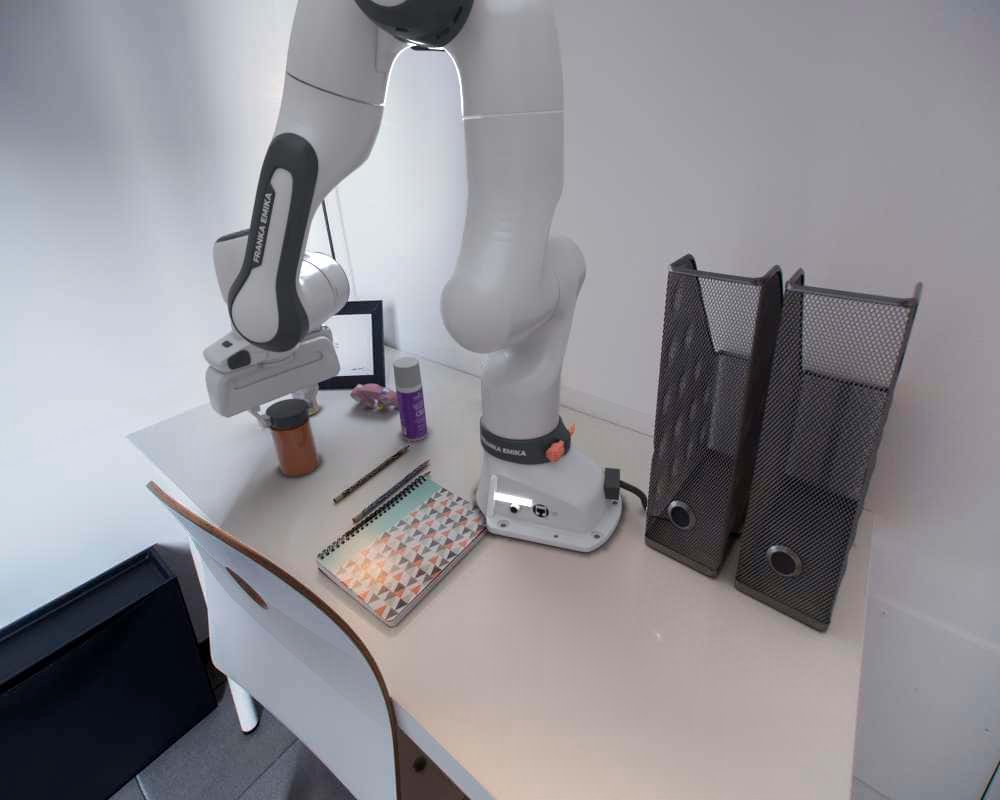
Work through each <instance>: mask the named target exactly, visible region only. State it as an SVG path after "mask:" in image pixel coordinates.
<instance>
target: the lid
mask: <svg viewBox="0 0 1000 800" xmlns="http://www.w3.org/2000/svg"><path fill="white" fill-rule="evenodd" d="M265 414H267V416H269V417H270V418H271V423H272V426H271V427H274V428H290V427H294V426H296V425H299V424H301V423H303V422H304V421H305V420H307V419H308V417H309V418H310V416H309V410H308V406H307V403H306V402H305V401H303V400H301V399H293V398H286V399H283V400H278V401H277V402H274V403H272V404H271V405H269V406H268V407H267V408H266V410H265Z"/></svg>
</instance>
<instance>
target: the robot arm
mask: <svg viewBox="0 0 1000 800" xmlns="http://www.w3.org/2000/svg"><path fill="white" fill-rule="evenodd" d="M288 41H289V42H288V48H287V54H286V62H285V63H286V64H285V73H284V81H283V82H284V83H283V89H282V96H281V102H280V107H279V111H278V117H277V121H276V125H275V129H274V132H273V135H272V138H271V140H270V144H269V145H268V148H267V150H266V153H265V156H264V158H263V161H262V165H261V169H260V171H259V172H260V173H259V177H258V182H257V186H256V192H255V197H254V203H253V208H252V212H251V213H252V214H251V219H250V224H249V228H245V229H241V230H239V231H234V232H231V233H228V234H225V235H222V236H219V237H218V238H217V239H216V240H215V242H214V243H213V247H212V260H213V267H214V271H215V276H216V281H217V284H218V287H219V291H220V294H221V297H222V300H223V302H224V303H225V305H226V306H227V312H228V316H229V319H230V321H229V323H230V328H231V331H229V332H228V333H227V334H225V335H224V336H222V337H221V338H219V339H218V340H216V341H215V342H213V343H212V344H210V345H209V346H207V347H206V348H204V349H203V350H202V355H203V359H204V360H205V361H206V363H208V365H209V366H208V367H207V368H206V371H205V375H204V376H205V385H206V392H207V395H208V399H209V403H210V405H211V408H212V409H213V410H214V412H216V413H217V414H218V415H219V416H221V417H224V418H228V419H229V418H232V417H234V416H237V415H239V414H241V413H245V412H248V413H250V414H251V416H254V417H255V418H256V420H257V423H258V425H259V427H260V429H262V430H266V429H269V427H271V426H272V423H271V418H270V417H269V416H267V414H266V413H263V414H260V413H259V412H261V411H262V410H261V406H262V405H265V404H267V403H270V402H272V401H276V400H278V399H280V398H282V397H285V396H288V395H292V393H293V392H296V391H298V390H301V389H304V388H306V387H307V388H308V390H307V394H306V397H305V398H303V399H302V400H303V401H305V402H306V403H307V406H308V410H311V409H313V408H316V403H315V398H316V399H317V395H318V393H319V389H320V386H319V384H320V383H321V382H324V381H327V380H329V379H331V378H334V377H337V376H338V375H339V373H340V370H341V364H340V360H339V357H338V354H337V352H336V348H335V345H334V337H333V332H332V330H331V328H330V327H329V326H328V325H327V324H326V325H325V323H326V322H327V321H328V320H330V319H331V318H332V317H333V316H335V315H336V314H338V313H339V312H340V311H341V310H342V309H343V308H344V307H345V306H346V305H347V303H348V301H349V300H350V299H349V298H350V294H351V289H350V282H349V278H348V276H347V274H346V272H345V270H344V268H343V267H342V265H341V264H340V263H339V262H338V261H337V260H335V258H333V257H332V256H330V255H329V254H326V253H324V252H321V251H311V250H308V249H307V245H308V241H309V236H310V231H311V227H312V223H313V220H314V217H315V215H316V212H317V211H318V209H319V208H320V206H321V205H322V203H323V201H325V199H326V197H327V196H328V195H329V194H330V193H331V192H332V191H333V190H334V189H335V188H336V187H337V186H338V185H339V184H340V183H342V182H343V181H344V180H345V179H346V178H348V177H349V176H350V175H351V174H353V173H354V172H355V171H356V170H359V168H361V167H362V166H363V165H364V164H365V163H366V162H367V161H368V159H369V158H370V156H371V153H372V151H373V148H374V147H375V144H376V141H377V139H378V136H379V133H380V129H381V126H382V121H383V115H384V111H385V105H386V99H387V93H388V88H389V82H390V77H391V73H392V70H393V66H394V64H395V62H396V60H397V58H398V57H399V55H400V54H402V52H403V51H405V50H407V49H408V48H410V49H411V50H413V51H416V52H443V53H445V52H446V53H447V54H448V56H450V59H452V61H453V63H454V65H455V68H456V72H457V76H458V81H459V86H460V87H459V89H460V100H461V115H462V117H467V118H462V127H463V128H462V129H463V142H464V143H463V145H464V157H465V160H464V161H465V174H466V201H465V202H466V203H465V212H464V219H463V226H462V232H461V237H460V242H459V247H458V251H457V256H456V260H455V262H454V263H455V264H454V267H453V269H452V272H451V274H450V275H449V277H448V278H447V279H448V280H447V282H446V283H445V284H444V287H443V288H442V290H441V294H440V298H439V312H440V316H441V320H442V323H443V325H444V328H445V329H446V331H447V333H448V334H449V336H450V337H451V338H452V339H453V340H454V342H456V343H457V344H458V346H460V347H461V348H463V349H465V350H467V351H469V352H472V353H474V354H475V353H476V354H486V357H485V358H484V360H483V362H482V366H481V370H480V377H479V378H480V395H481V416H480V419H479V439H480V445H481V447H482V461H481V473H480V477H479V483H478V486H477V489H476V492H475V502H476V505H477V507H478V509H479V510H480V511H481V513H482V515H483V516H484V517H485V526H486V529H487V531H488V532H489V533H490V534H493V535H498V536H503V537H508V538H513V539H518V540H522V541H526V542H532V543H537V544H541V545H547V546H552V547H556V548H561V549H566V550H571V551H575V552H581V553H591V552H593V551H595V550H597V549H598V548H600V547H602V546H603V545H604V544H605V543H606V542H607V541H608V540H609V539H610V538H611V536H612V535H613V533H614V532H615V530H616V528H617V526H618V524H619V522H620V520H621V516H622V511H623V501H622V497H621V494H620V493H621V489H622V490H626V491H627V492H629V493H631V494H634V495H635V496H636V497H638V498H639V500H640V503H641V507H642V508H643V510H644V511H645V512H646V507H647V500H648V497H647V495H646V494H645V492H643V491H642V490H641V489H640V488H639V487H637V486H635V485H632V484H630V483H628V482H626V481H624V480H622V479H621V469H620V468H615V467H605V468H603V467H602V466H601V465H600V464H598V462H596V461H595V460H594V459H593V458H591V457H590V456H589V455H588V454H587V453H586V452H584V451H583V450H582V449H581V448H580V447H578V446H577V445H576V444H575V443H574V442H572V438H571V437H572V436H573V434H574V433H575V431H576V428H575V427H576V423H573V424H572V425H570V427H569V429H568V428H567V427H566V425H565V423H564V421H563V418H562V417H561V414H560V409H561V408H560V405H561V384H562V383H561V382H562V371H563V364H564V360H565V359H564V358H565V354H566V351H567V346H568V342H569V338H570V333H571V329H572V323H573V319H574V314H575V309H576V303H577V301H578V297H579V295H580V292H581V290H582V287H583V285H584V282H585V279H586V275H587V265H586V264H587V263H586V259H585V256H584V253H583V252H582V250H581V248H580V247H579V246H578V245H577V243H576V242H575V241H573V240H572V239H570V238H569V237H567V236H566V235H564V234H563V235H562V234H559V233H550V230H551V227H552V221H553V218H554V215H555V211H556V208H557V205H558V203H559V202H560V199H561V197H562V194H563V189H564V182H565V181H564V179H565V178H564V177H565V175H564V174H565V173H564V169H565V167H564V166H565V163H564V161H565V160H564V159H565V157H564V156H565V155H564V154H565V149H564V148H565V147H564V146H565V144H564V143H565V141H564V140H565V139H564V138H565V134H564V133H565V112H560V111H565V103H564V79H563V77H564V76H563V66H562V57H561V48H560V41H559V34H558V28H557V23H556V18H555V15H554V11H553V9H552V6H551V5H550V3H549V1H548V0H297V5H296V8H295V12H294V16H293V20H292V25H291V29H290V34H289V40H288ZM555 111H556V112H555ZM557 111H559V112H557ZM541 112H543V113H541ZM525 113H526V114H525ZM529 113H530V114H529ZM509 114H510V115H509ZM511 114H512V115H511ZM493 115H494V116H493ZM496 115H498V116H496ZM478 116H479V117H478ZM480 116H482V117H480ZM468 117H469V118H468ZM736 535H742V534H741V531H739V532H738V533H737V534H736Z"/></svg>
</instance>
